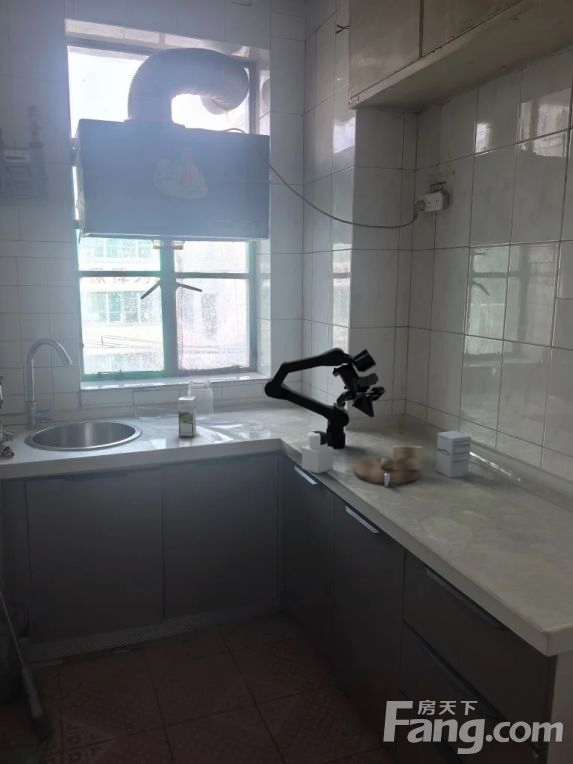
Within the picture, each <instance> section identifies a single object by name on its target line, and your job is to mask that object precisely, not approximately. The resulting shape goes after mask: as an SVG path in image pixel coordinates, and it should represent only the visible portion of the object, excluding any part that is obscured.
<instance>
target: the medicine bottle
mask: <svg viewBox="0 0 573 764" xmlns="http://www.w3.org/2000/svg"><path fill="white" fill-rule="evenodd" d="M307 436H308V438H307V440H308V441H307V443H308V444H307V445H306V446H302V448H301V469H303V470H305V471H308V472H311V473H315V474H318V475H319V474H322V473H325V472H328V471H329V470H333V466H334V448H332V447H329V446H327V433H326V432H324V431H321V430H314V431H310V432H308V435H307Z"/></svg>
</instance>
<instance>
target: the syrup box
mask: <svg viewBox="0 0 573 764" xmlns="http://www.w3.org/2000/svg"><path fill="white" fill-rule="evenodd" d="M196 403H197V401H196V396H180V397H179V398H178V399H177V405H178V406H177V407H178V409H177V410H178V413H177V414H178V416H177V417H178V436H179V437H182V438H183V437H184V438H185V437H186V438H192V437H195V435H196V434H197V423H196V422H197V420H196V419H197V418H196V417H197V416H196V415H197V413H196V412H197V411H196V410H197V409H196V407H197V406H196Z"/></svg>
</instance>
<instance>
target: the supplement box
mask: <svg viewBox="0 0 573 764" xmlns="http://www.w3.org/2000/svg"><path fill="white" fill-rule="evenodd" d="M471 441H472V436H470V435H468V434H465V433H462V432H460V431H457V430H450V431H444V432H443V431H442V432H437V444H436V459H435V471H436V472H438V473H440V474H442V475H444V476H447V477H448V478H450V479H451V478H458V477H464V476H469V470H470V469H469V468H470V467H469V466H470V454H471V443H472V442H471Z"/></svg>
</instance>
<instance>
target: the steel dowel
mask: <svg viewBox="0 0 573 764" xmlns="http://www.w3.org/2000/svg"><path fill="white" fill-rule="evenodd" d="M383 485H384V486H383V488H384V489H385V488H386V489H389V488H390V473H385V478H384V484H383Z"/></svg>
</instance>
